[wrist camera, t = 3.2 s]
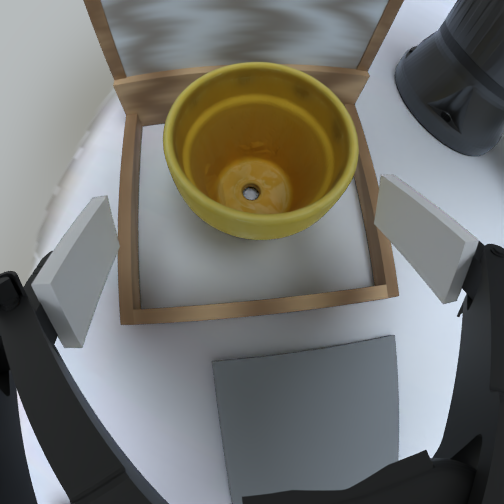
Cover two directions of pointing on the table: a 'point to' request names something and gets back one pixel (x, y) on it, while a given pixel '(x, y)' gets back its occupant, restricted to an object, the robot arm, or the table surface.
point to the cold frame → (223, 54)
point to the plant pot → (260, 149)
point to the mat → (308, 417)
